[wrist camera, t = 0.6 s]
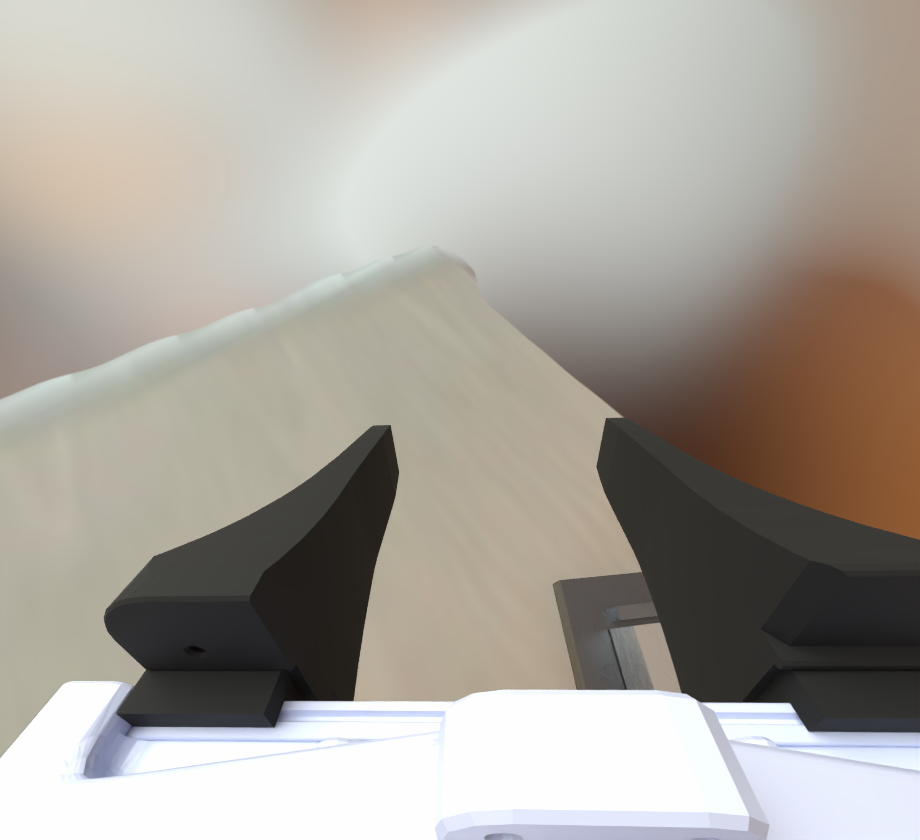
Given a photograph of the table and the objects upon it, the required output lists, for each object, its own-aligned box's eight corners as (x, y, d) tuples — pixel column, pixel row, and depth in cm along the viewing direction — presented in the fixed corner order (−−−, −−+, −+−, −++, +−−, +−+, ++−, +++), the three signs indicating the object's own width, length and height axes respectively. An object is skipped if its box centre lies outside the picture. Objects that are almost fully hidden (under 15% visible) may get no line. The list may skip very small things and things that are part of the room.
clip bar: (758, 678, 22) (802, 681, 20) (629, 698, 21) (659, 704, 18) (728, 614, 24) (764, 609, 22) (609, 629, 23) (633, 625, 20)
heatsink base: (913, 837, 20) (1073, 894, 15) (628, 912, 17) (713, 1012, 12) (762, 563, 28) (834, 543, 23) (552, 584, 26) (586, 566, 21)
